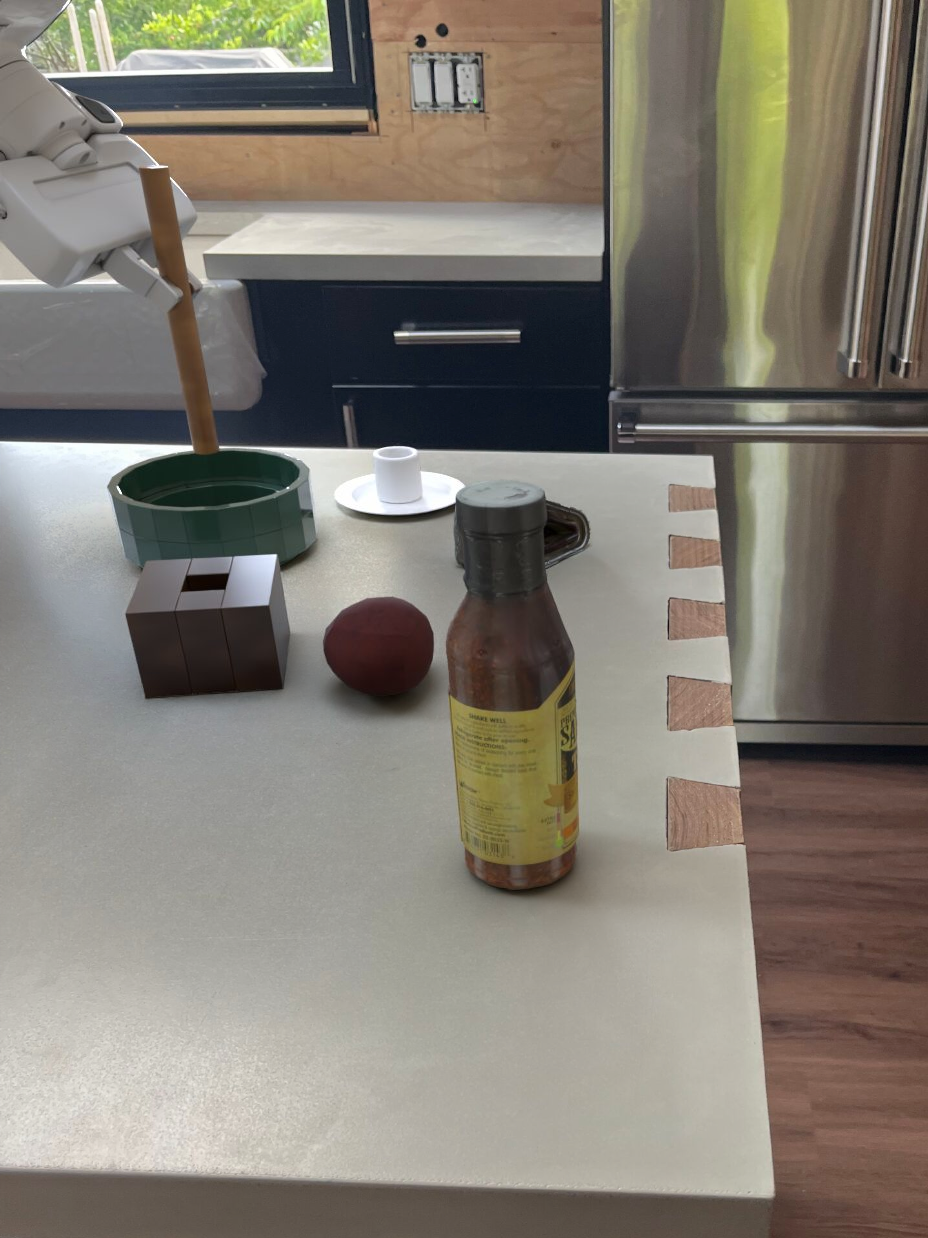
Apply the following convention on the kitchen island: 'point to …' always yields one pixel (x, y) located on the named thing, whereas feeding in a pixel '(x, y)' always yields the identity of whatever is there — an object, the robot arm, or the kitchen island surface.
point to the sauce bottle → (511, 694)
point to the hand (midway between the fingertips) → (185, 300)
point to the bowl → (214, 506)
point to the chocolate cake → (550, 534)
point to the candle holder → (398, 486)
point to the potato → (380, 646)
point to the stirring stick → (180, 307)
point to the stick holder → (209, 625)
